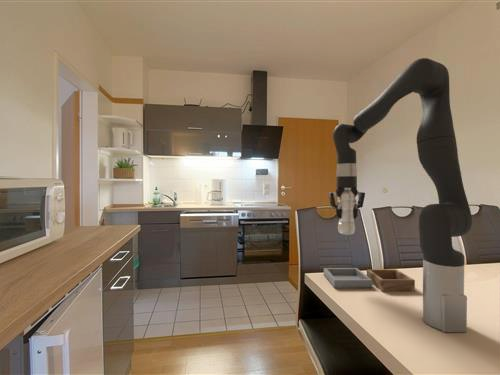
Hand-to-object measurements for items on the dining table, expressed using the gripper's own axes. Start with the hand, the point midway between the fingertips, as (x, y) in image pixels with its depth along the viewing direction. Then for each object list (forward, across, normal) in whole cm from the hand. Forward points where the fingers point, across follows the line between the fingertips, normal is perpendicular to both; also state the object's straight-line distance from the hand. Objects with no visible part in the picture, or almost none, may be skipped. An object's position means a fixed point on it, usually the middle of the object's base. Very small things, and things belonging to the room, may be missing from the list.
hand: (346, 218), depth 105 cm
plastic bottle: (+7, 0, 0) cm, 7 cm away
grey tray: (+25, 0, 0) cm, 25 cm away
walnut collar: (+25, +15, -4) cm, 29 cm away
